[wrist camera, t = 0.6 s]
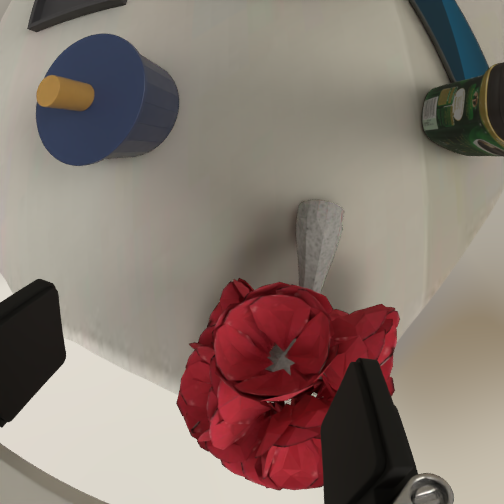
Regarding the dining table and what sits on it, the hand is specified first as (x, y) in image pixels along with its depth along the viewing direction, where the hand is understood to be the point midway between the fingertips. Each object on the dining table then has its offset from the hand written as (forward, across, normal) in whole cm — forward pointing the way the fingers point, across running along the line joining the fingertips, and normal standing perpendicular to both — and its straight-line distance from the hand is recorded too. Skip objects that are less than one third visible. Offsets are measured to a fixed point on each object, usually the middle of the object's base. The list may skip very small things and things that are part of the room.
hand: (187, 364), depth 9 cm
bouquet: (+30, -7, +12) cm, 33 cm away
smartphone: (+30, -20, -29) cm, 46 cm away
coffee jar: (+30, -21, -16) cm, 40 cm away
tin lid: (+19, +18, -9) cm, 28 cm away
